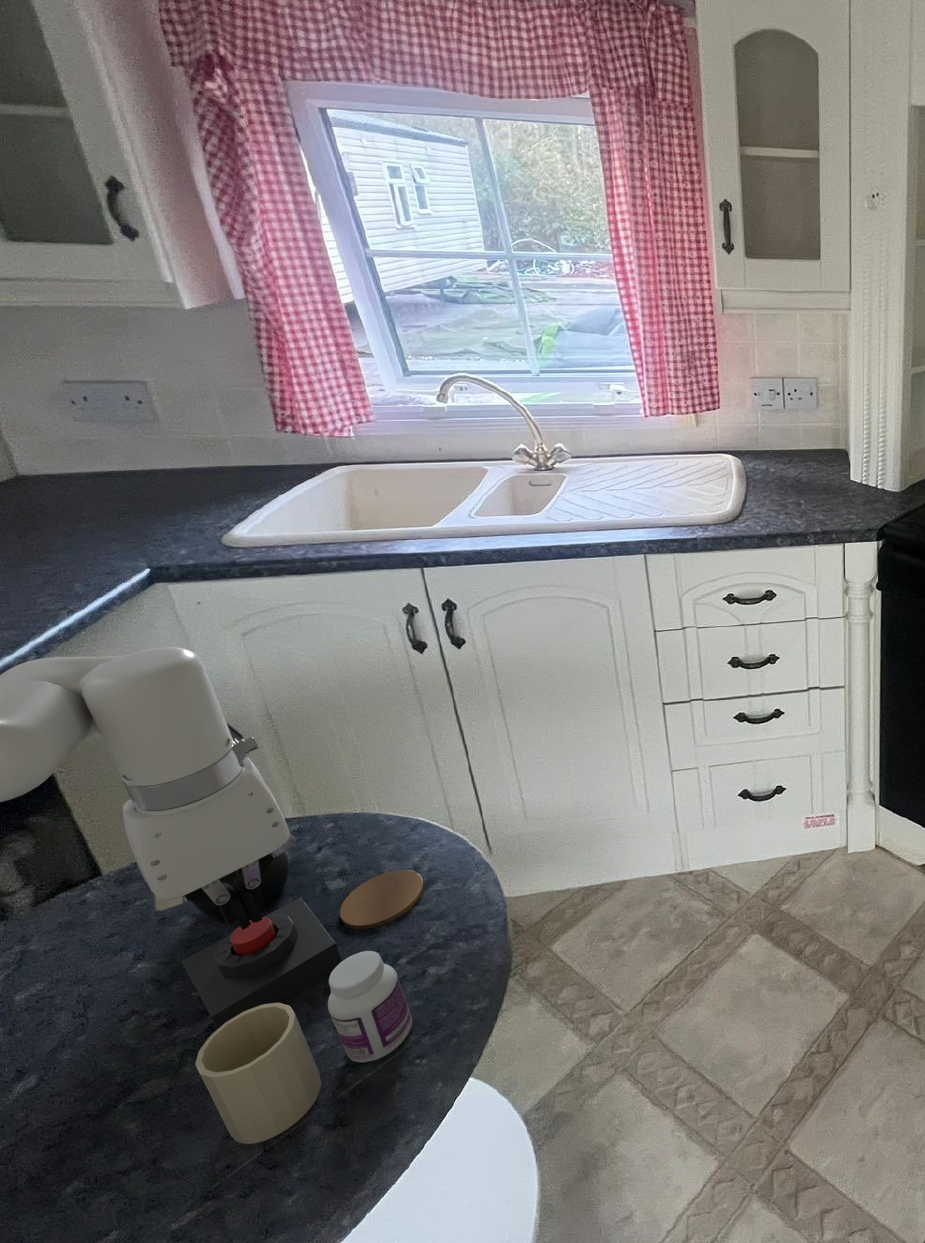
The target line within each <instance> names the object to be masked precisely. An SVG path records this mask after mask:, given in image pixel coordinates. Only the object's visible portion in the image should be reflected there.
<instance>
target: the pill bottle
mask: <svg viewBox="0 0 925 1243" xmlns="http://www.w3.org/2000/svg"><path fill="white" fill-rule="evenodd" d="M328 985H329V988H330V994H329V997H328V1000H327V1009H328V1014H329V1015H330V1017H331V1020H332V1022H333V1024H334V1027H335V1030H336V1032H337V1034H338V1037H339V1040H340V1041H341V1042H340V1043H341V1045H342V1047H343V1049H344V1051H345V1053H346V1055H347V1057H348V1058H349V1059H350V1060H351V1061H353V1062H356V1063H368V1062H373V1061H377V1060H379V1059H381V1058H383V1057H386V1056H387V1055H389V1054H391V1053H392V1052H393V1051H394V1050H396V1049H397V1048H398V1047H399V1046H400V1045H401V1044H402V1043H403V1041H405V1039H406V1038H407V1036H408V1035H409V1033H410V1032H411V1029H412V1025H413V1017H412V1014H411V1011H410V1008H409V1004H408V1002H407V999H406V996H405V993H404V991H403V988H402V985H401V982H400V979H399V976H398V973H397V972H396V970H395V969H394V968H393V967H392V966H391V965H389V964H387V963H384V961H383V959H382V956H381V955H380V954H379V953H378V952H377V951H373V950H365V951H360V952H357V953H354V954H352V955H350V956H348V957H346V958H345V959H344V960H342V962H341V963H340V964H339V965H338V966H337V967H336V968H335V969H334V970H333V971H332V972H330V975H329V978H328Z"/></svg>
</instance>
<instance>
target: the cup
mask: <svg viewBox="0 0 925 1243" xmlns="http://www.w3.org/2000/svg"><path fill="white" fill-rule="evenodd" d="M195 1067H196V1070H197V1071H198V1074H199V1075H200V1077H201V1079H202V1081H203V1083H204V1085H205V1087H206V1089H207V1091H208V1093H209V1096H210V1097H211V1099H212V1102H213V1103H214V1105H215V1107H216V1109H217V1111H218V1113H219V1115H220V1118H221V1119H222V1121H223V1123H224V1126H225V1127H226V1129H227V1132H228V1134H229V1135H230V1137H231V1138H232V1139H233V1141H235V1142H237V1143H239V1144H242V1145H251V1144H252V1145H253V1144H258V1143H262V1142H265V1141H267V1140H270V1139H272V1138H274V1137H277V1136H278V1135H280V1134H282V1133H283V1132H285V1131H286V1130H288V1129H289V1128H291V1127H293V1125H295V1124H296V1123H297V1122H298V1121H300V1120H301V1119H302V1118H303V1117H304V1116H305V1115H306V1114H307V1113H308V1111H309V1110H310V1109H311V1108H312V1106H313V1105H314V1104H315V1102H316V1101H317V1098H318V1097H319V1094H320V1091H321V1089H322V1078H321V1074H320V1072H319V1068H318V1066H317V1064H316V1061H315V1059H314V1057H313V1054H312V1052H311V1048H310V1047H309V1045H308V1041H307V1039H306V1037H305V1034H304V1032H303V1030H302V1028H301V1025H300V1023H299V1020H298V1018H297V1015H296V1013H295V1012H294V1010H293V1008H292V1007H291V1006H290V1005H288V1004H284V1003H282V1002H281V1003H271V1004H263V1005H260V1006H257V1007H255V1008H252V1009H249V1010H247V1011H244V1012H242V1013H241V1014H239V1015H237V1016H236V1017H234V1018H232V1019H231V1020H229V1021H227V1022H226V1023H224V1024H223V1025H222V1026H221V1027H220V1028H219V1029H218V1030H217V1029H216V1030H215V1031H214V1032H213V1033H212V1034H211V1035H210V1036H209V1037H207V1039H206V1040H205V1042H204V1043H203V1045H202V1046H201V1047H200V1049H199V1050H198V1052H197V1056H196V1059H195Z"/></svg>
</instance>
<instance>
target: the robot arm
mask: <svg viewBox="0 0 925 1243" xmlns="http://www.w3.org/2000/svg"><path fill="white" fill-rule="evenodd" d="M210 680H211V679H210V678H209V675H208V673H207V670H206V668H205V665H204V663H203V661H202V660H201V658H200V657H199V656H198V655H197V654H196V653H195V652H194V651H191V650H189V649H187V648H183V647H175V646H164V647H163V646H161V647H155V648H154V647H153V648H148V649H144V650H139V651H135V652H131V653H128V654H125V655H110V656H109V655H108V656H107V655H106V656H53V657H43V658H37V659H33V660H28V661H25V662H23V663H20V664H17V665H14V666H13V667H11V668H9V669H8V670H6V671H4V672H2V673H1V674H0V803H2V802H6V801H10V800H13V799H15V798H18V797H21V796H23V795H25V794H27V793H30V792H31V791H33V790H34V789H36V788H37V787H39V786H40V785H41V784H43V783H44V782H45V781H47V780H48V779H49V778H50V777H51V776H52V775H53V774H54V773H55V772H56V771H57V770H58V769H59V767H60V766H61V765H62V764H63V763H64V762H65V760H66V759H67V758H68V757H69V756H70V755H71V754H72V752H74V751H75V749H76V748H77V747H78V746H79V744H81V742H83V741H85V740H86V739H88V738H90V737H92V736H93V735H95V734H100V736H101V739H102V741H103V743H104V745H105V748H106V750H107V751H108V753H109V756H110V758H111V760H112V762H113V764H114V766H115V769H116V770H117V773H118V774H119V777H120V779H121V781H122V783H123V785H124V788H125V790H126V791H127V793H128V796H129V799H127V801H126V802H125V803H124V804H123V806H122V818H123V825H124V831H125V833H126V837H127V841H128V843H129V844H128V845H129V846H130V849H131V851H132V852H131V853H132V855H133V857H134V860H135V862H136V865H137V867H138V869H139V872H140V874H141V876H142V878H143V880H144V881H145V883H146V884H147V885H148V887H149V889H150V901H151V902H150V903H151V904H152V907H153V909H154V911H156V912H162V911H166V910H169V909H172V908H174V907H178V906H180V905H184V904H185V903H186V902H190V903H193V902H214V904H216V905H218V906H219V908H220V910H221V913H222V915H223V917H224V918H223V919H224V920H225V922H226V924H227V925H230V924H232V923H234V922H237V924H238V925H239V926H240V927H241V929H242V930H244V929H246V928H248V927H249V925H251V923H250V920H251V921H252V922H253V923H254V922H256V923H257V922H259V921H261V920H262V917H263V916H262V914H261V912H260V909H261V908H262V907H264V906H266V903H265V901H264V899H263V896H262V894H261V892H260V889H259V887H258V886H259V885H260V883H261V877H262V875H263V874H264V872H265V871H266V869H267V868H268V866H269V865H270V863H271V862H272V860H273V858H275V857H278V856H279V855H281V854H282V853H284V852H286V851H288V850H289V849H291V848H292V847H294V846H295V845H296V843H297V839H296V838H295V837H294V835H293V834H291V832H290V829H289V826H288V824H287V821H286V820H285V817H284V814H283V812H282V810H281V808H280V806H279V804H278V802H277V800H276V798H275V796H274V794H273V792H272V790H271V789H270V786H268V783H267V782H266V781H265V779H264V777H263V776H262V774H261V773H260V770H259V769H258V767H257V766H256V765H255V763H253V761H252V760H251V759H250V758H249V757H248V758H247V757H245V755H247V756H248V755H249V754H250V753H251V752H253V751H255V750H258V749H259V746H258V743H257V741H256V739H255V738H254V736H250V737H248V738H245V739H244V738H243V739H241V740H239V741H237V740H236V739H232V736H231V733H230V731H229V728H228V726H227V723H228V722H227V721H226V718H225V716H224V713H223V710H222V708H221V706H220V703H219V700H218V698H217V696H216V693H215V691H214V688H213V685H212V683H211V681H210ZM226 722H227V723H226ZM234 871H236V873H237V877H236V879H235V880H234V881H235V883H233V885H234V888H235V890H236V892H237V893H236V892H235V890H234V889H233V887H232V886H231V885H229V884H228V883H222V882H221V880H220V879H219V878H221V877H223V876H225V875H227V874H229V873H232V872H234Z"/></svg>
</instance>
